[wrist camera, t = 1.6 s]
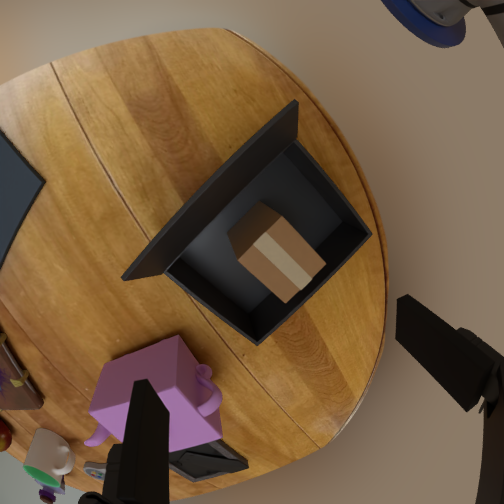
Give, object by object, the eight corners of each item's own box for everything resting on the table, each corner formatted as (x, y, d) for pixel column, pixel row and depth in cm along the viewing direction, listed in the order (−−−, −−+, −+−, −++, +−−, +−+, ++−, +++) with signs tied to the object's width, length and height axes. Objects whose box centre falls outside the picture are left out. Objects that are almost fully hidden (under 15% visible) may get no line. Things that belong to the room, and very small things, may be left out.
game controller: (128, 457, 42) (127, 464, 40) (163, 482, 46) (163, 489, 44) (79, 462, 41) (77, 468, 39) (114, 487, 45) (114, 492, 44)
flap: (123, 281, 18) (120, 277, 18) (161, 274, 24) (158, 271, 25) (298, 102, 17) (294, 98, 17) (297, 137, 23) (294, 134, 23)
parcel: (258, 199, 31) (281, 215, 22) (294, 237, 33) (327, 264, 24) (226, 232, 31) (236, 260, 23) (264, 267, 33) (286, 304, 25)
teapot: (196, 319, 34) (199, 391, 23) (231, 373, 38) (245, 443, 26) (79, 366, 34) (54, 429, 22) (120, 410, 37) (108, 472, 25)
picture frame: (247, 460, 46) (197, 419, 40) (249, 468, 44) (197, 428, 38) (192, 476, 46) (136, 438, 40) (193, 483, 44) (135, 447, 38)
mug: (63, 425, 37) (50, 467, 27) (89, 449, 40) (81, 489, 30) (29, 428, 36) (16, 464, 26) (53, 451, 39) (44, 485, 29)
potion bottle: (35, 459, 40) (25, 494, 28) (45, 453, 39) (34, 491, 28) (63, 476, 43) (56, 511, 31) (75, 471, 42) (68, 509, 31)
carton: (247, 316, 35) (257, 346, 29) (167, 249, 31) (160, 271, 25) (344, 221, 34) (373, 234, 28) (275, 140, 30) (293, 136, 24)
